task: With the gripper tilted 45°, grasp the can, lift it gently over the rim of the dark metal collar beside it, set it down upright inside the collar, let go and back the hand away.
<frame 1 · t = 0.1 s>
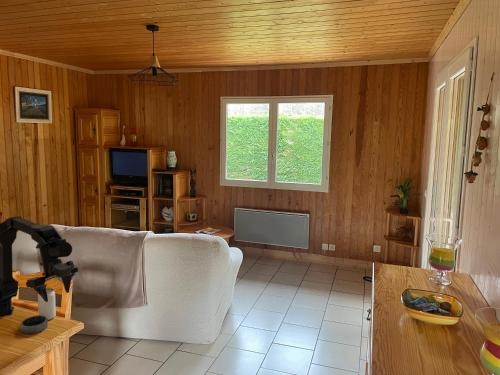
hand: (57, 297, 145), 15 cm above the table, tool pointing down, fingers open, 9 cm apart
can: (47, 317, 160), on the table
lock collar: (34, 328, 151), on the table
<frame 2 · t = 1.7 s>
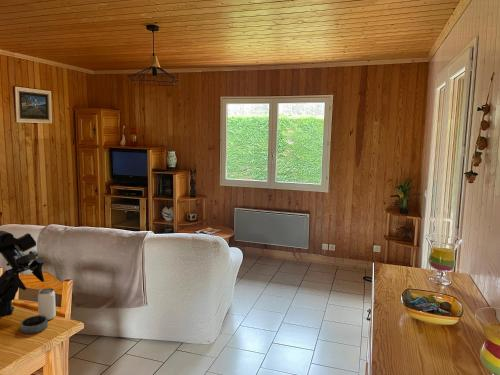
hand: (34, 285, 159), 14 cm above the table, tool tilted 45°, fingers open, 9 cm apart
nothing on the table moved.
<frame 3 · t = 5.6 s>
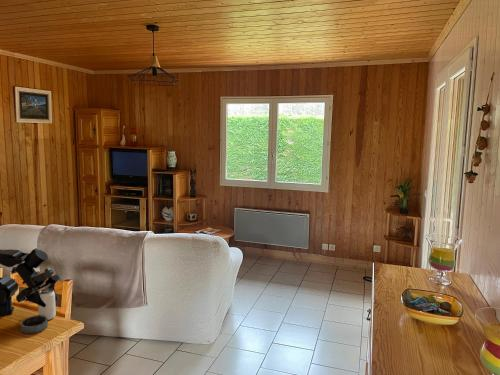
hand: (50, 303, 158), 7 cm above the table, tool tilted 45°, fingers closed on can, 6 cm apart
can: (47, 317, 160), on the table, touching gripper
when the fingers open (8 cm above the table, at t = 11.5 s): can drops 1 cm, resting on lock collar.
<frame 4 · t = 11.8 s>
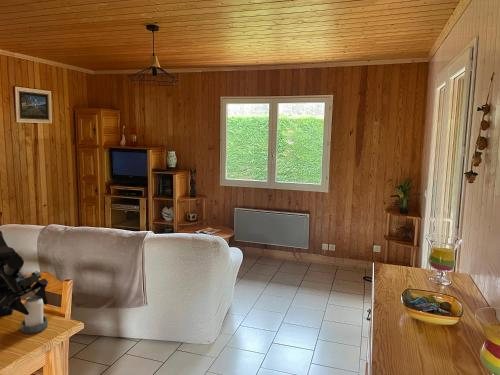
hand: (37, 309, 149), 9 cm above the table, tool tilted 45°, fingers open, 9 cm apart
can: (34, 327, 151), resting on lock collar
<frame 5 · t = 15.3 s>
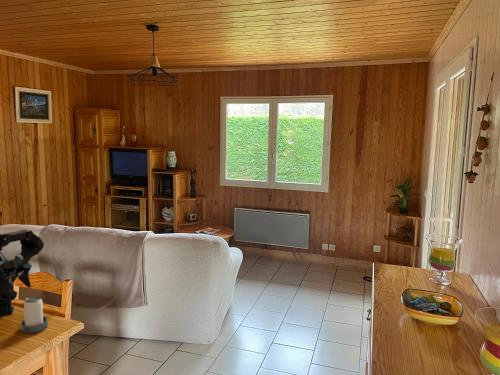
hand: (20, 291, 153), 14 cm above the table, tool tilted 45°, fingers open, 9 cm apart
nothing on the table moved.
at the end: can 0.1 cm off-centre on the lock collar, point 0.3 cm above the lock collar's base; can tilted 0°; the gripper is holding nothing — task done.
